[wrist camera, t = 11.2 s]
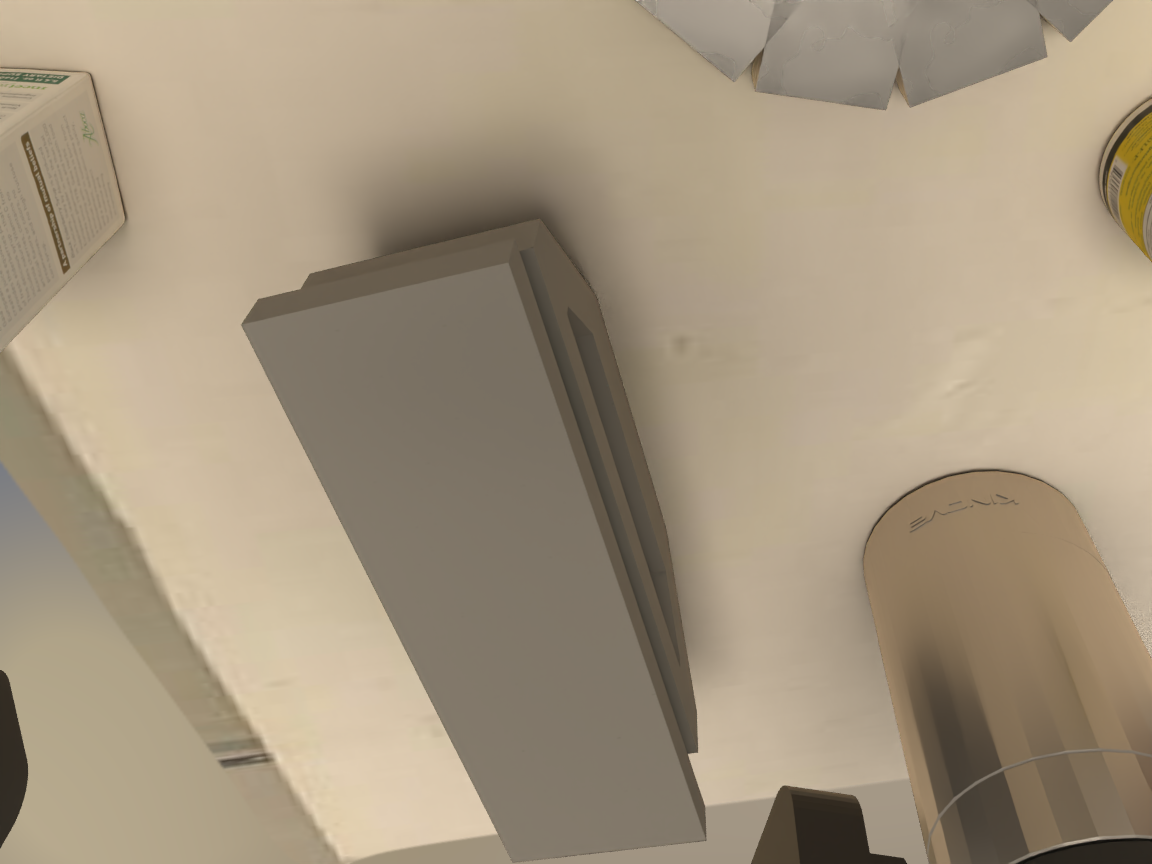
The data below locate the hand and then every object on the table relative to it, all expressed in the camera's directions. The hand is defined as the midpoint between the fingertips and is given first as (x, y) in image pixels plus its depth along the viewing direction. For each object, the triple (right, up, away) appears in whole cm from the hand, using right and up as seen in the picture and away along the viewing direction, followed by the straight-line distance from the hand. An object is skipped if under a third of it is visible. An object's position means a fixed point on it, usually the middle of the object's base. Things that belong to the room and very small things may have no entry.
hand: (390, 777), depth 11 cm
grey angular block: (+1, +3, +34) cm, 34 cm away
